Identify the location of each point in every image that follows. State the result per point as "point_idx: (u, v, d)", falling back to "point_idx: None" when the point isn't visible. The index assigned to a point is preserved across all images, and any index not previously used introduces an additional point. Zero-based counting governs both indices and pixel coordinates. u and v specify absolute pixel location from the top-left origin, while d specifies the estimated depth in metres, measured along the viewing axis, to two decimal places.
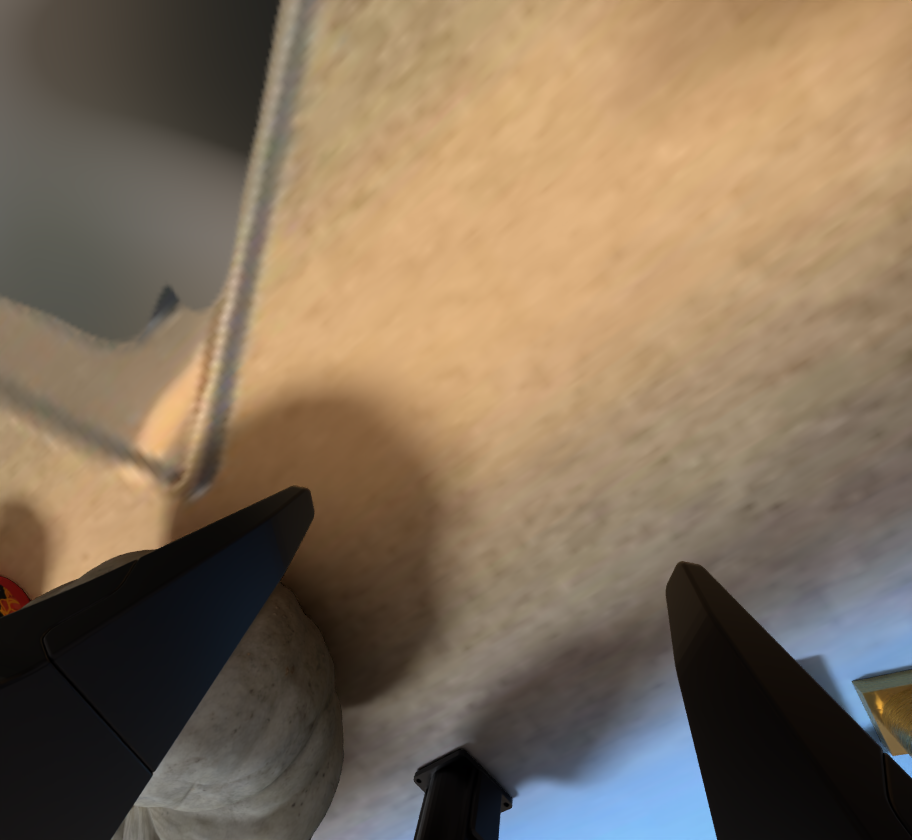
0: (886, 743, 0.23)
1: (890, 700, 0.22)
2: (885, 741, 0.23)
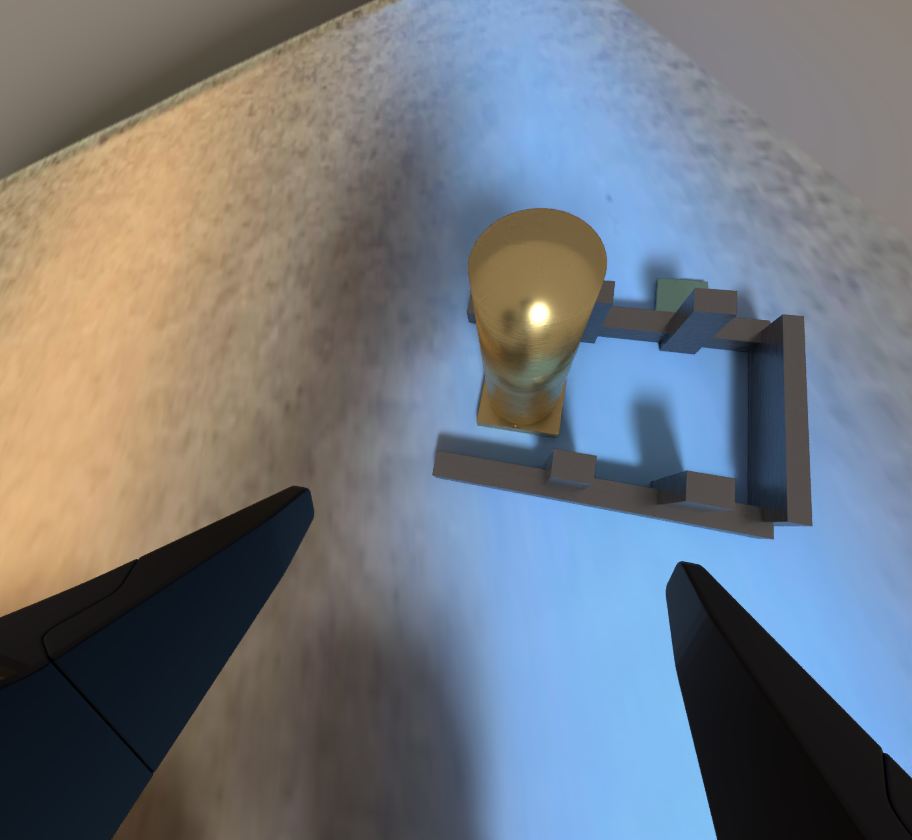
0: (542, 432, 0.22)
1: (493, 406, 0.23)
2: (540, 432, 0.22)
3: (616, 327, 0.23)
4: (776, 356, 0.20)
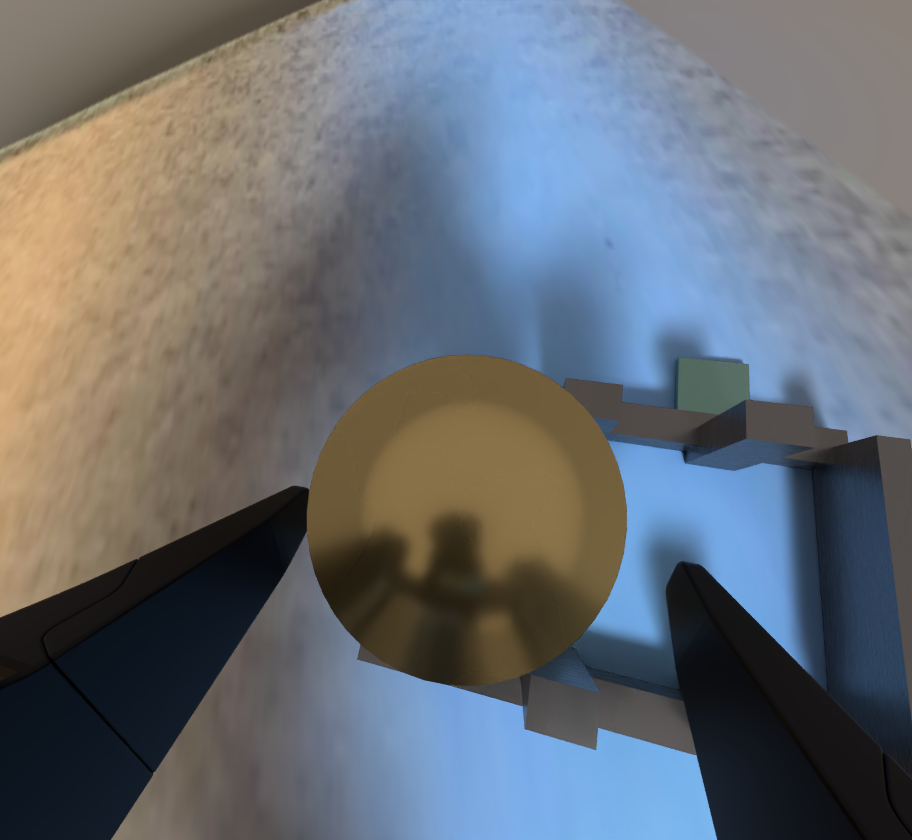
0: None
1: None
2: None
3: (623, 433, 0.16)
4: (869, 499, 0.13)
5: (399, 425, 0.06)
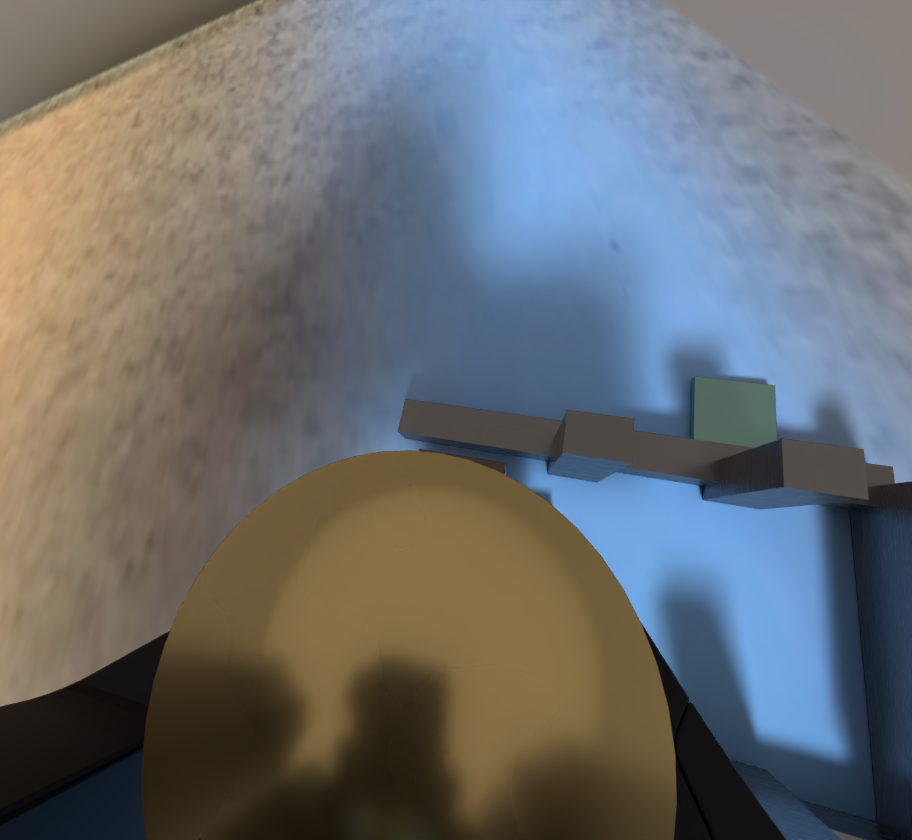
0: None
1: None
2: None
3: (632, 466, 0.14)
4: None
5: (301, 569, 0.03)
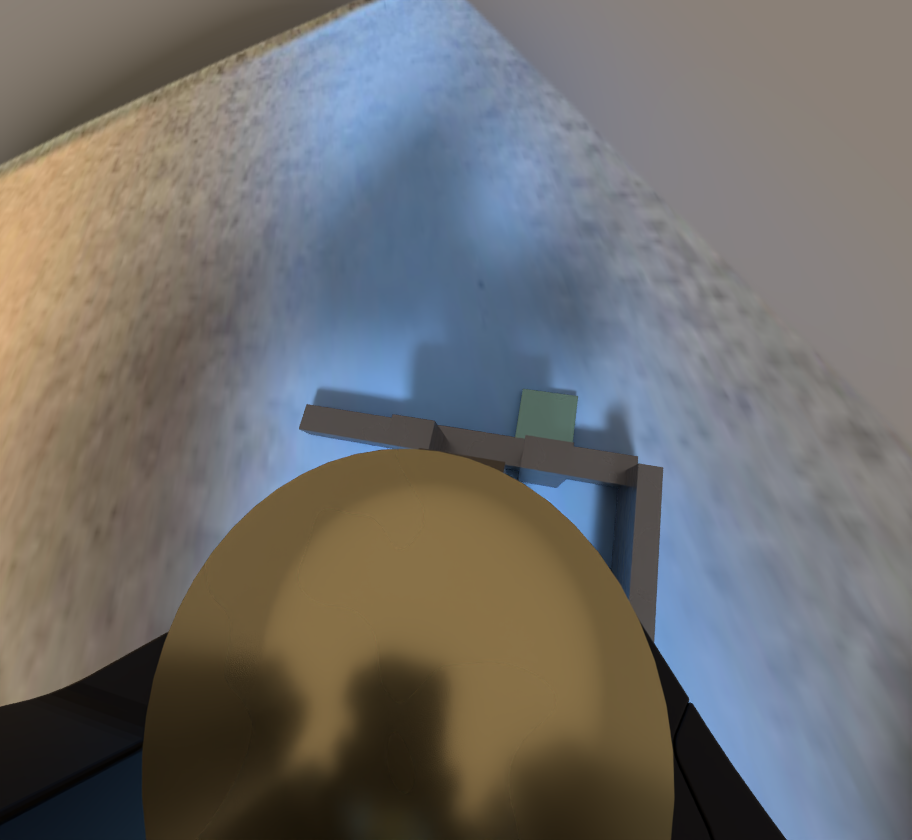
0: None
1: None
2: None
3: None
4: (630, 515, 0.16)
5: (301, 567, 0.03)
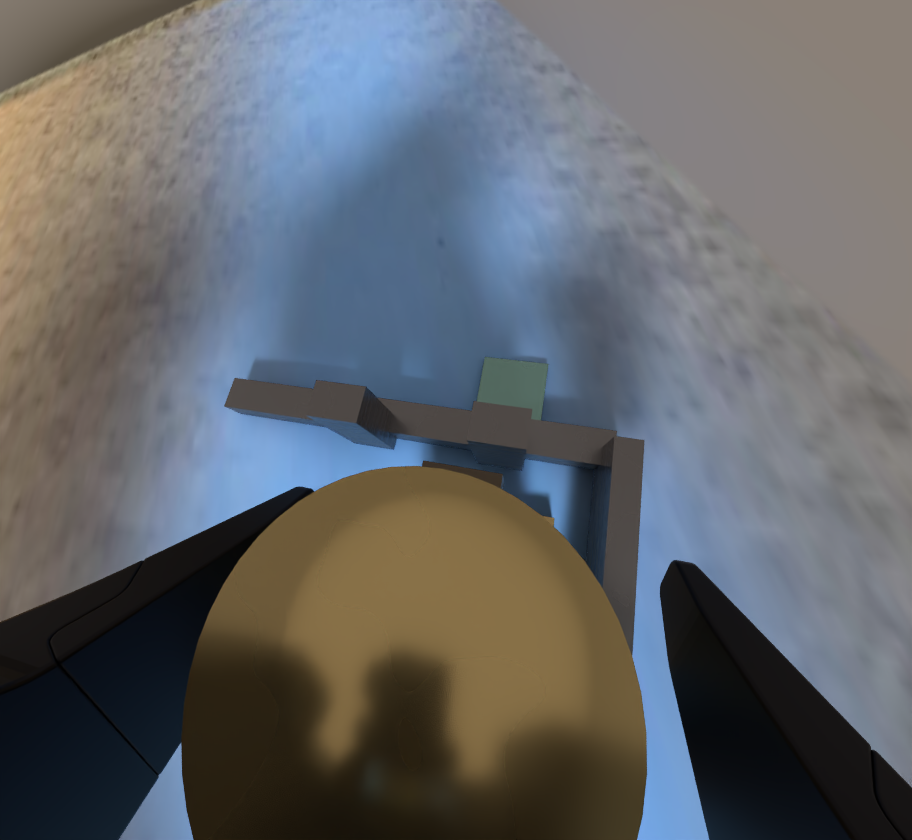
0: None
1: None
2: None
3: (411, 433, 0.16)
4: (605, 500, 0.13)
5: (320, 572, 0.04)
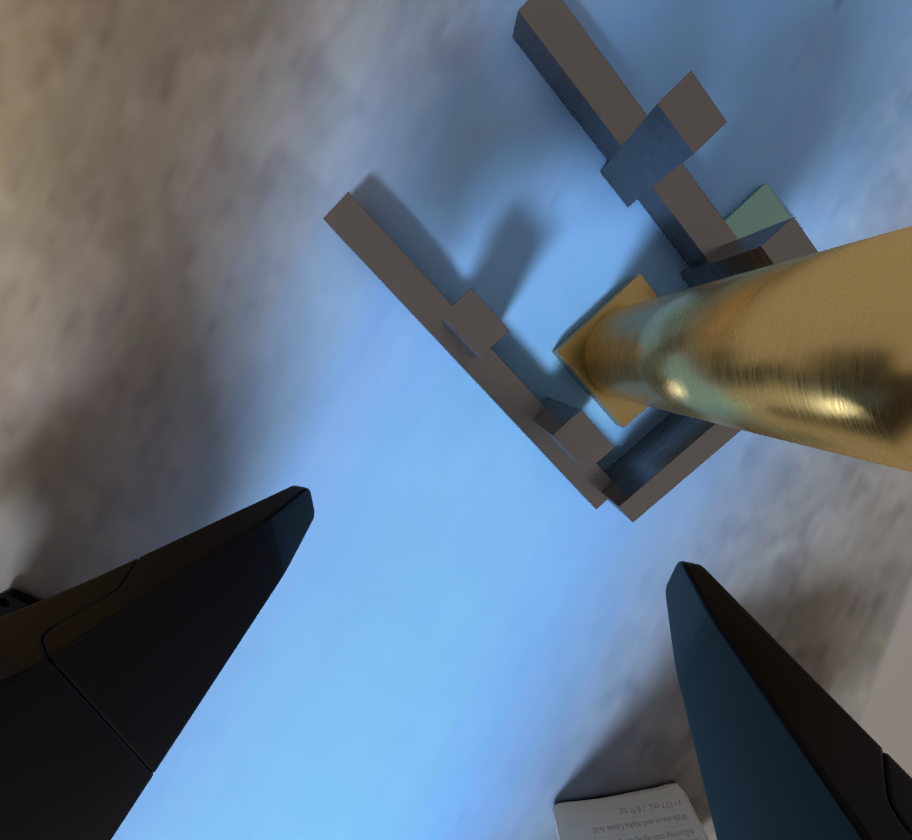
0: (611, 413, 0.18)
1: (587, 347, 0.17)
2: (609, 411, 0.18)
3: (666, 204, 0.16)
4: None
5: None
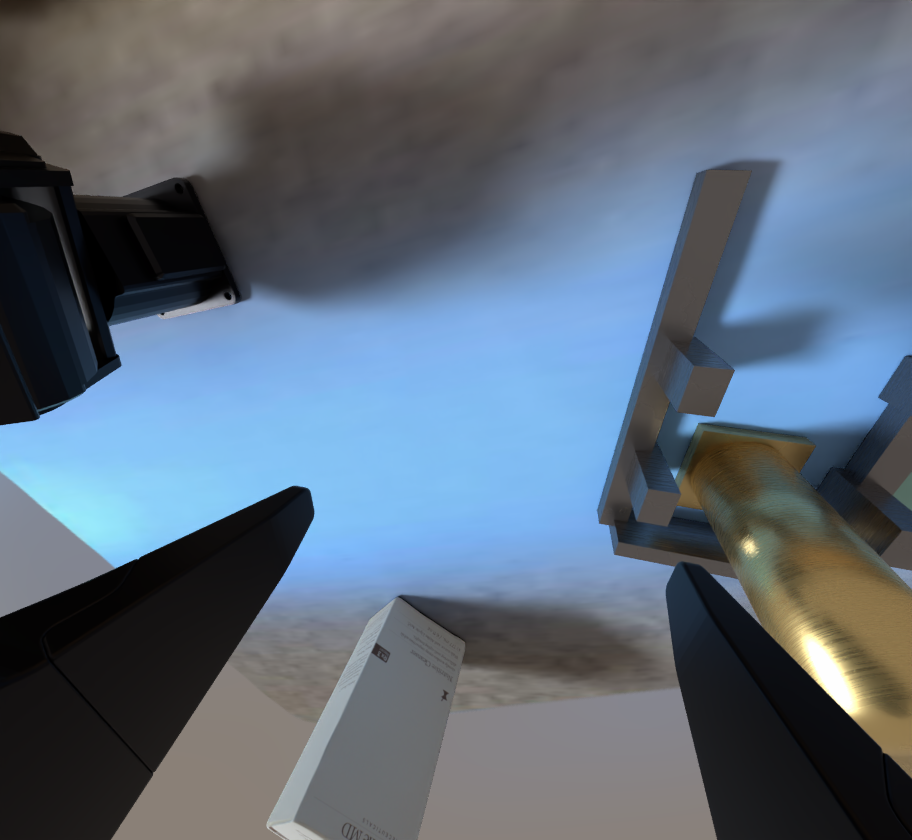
0: None
1: (722, 448, 0.19)
2: None
3: (900, 430, 0.16)
4: None
5: None
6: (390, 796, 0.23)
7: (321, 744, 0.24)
